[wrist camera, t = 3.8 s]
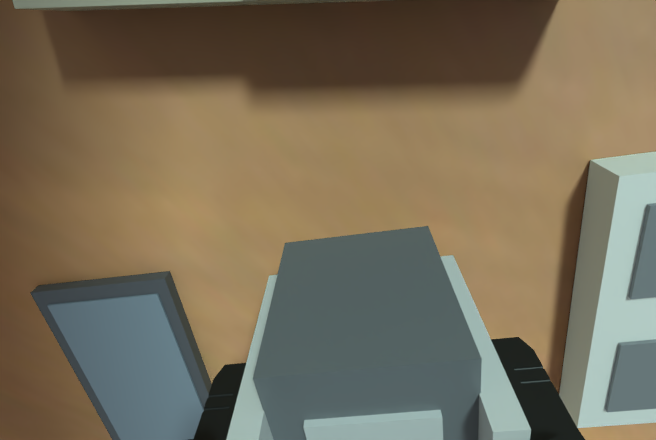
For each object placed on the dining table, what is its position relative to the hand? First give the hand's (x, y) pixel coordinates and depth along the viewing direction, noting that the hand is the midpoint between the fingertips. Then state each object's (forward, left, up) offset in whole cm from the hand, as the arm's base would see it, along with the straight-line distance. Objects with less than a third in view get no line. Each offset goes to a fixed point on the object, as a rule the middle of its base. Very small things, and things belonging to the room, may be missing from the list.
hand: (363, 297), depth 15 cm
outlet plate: (+5, +14, -5) cm, 15 cm away
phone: (+8, -13, -5) cm, 16 cm away
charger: (0, 0, 0) cm, 0 cm away
